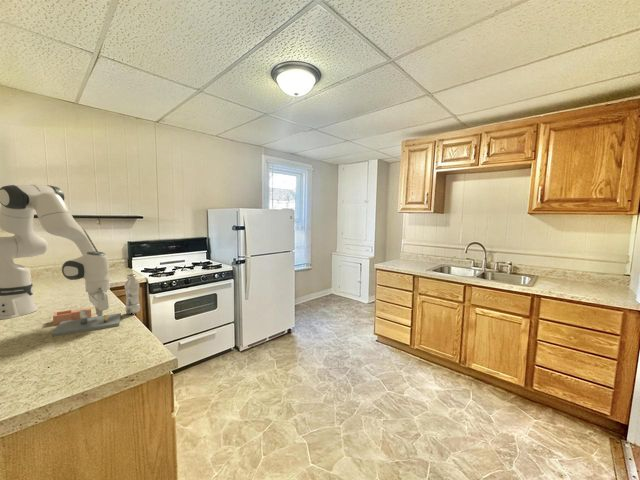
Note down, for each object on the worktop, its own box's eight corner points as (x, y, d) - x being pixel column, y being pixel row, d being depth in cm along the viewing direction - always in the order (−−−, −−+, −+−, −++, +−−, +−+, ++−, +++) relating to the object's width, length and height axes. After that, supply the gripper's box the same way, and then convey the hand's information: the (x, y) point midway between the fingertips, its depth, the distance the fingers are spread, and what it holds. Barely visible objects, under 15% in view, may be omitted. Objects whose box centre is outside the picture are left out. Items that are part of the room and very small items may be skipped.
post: (79, 324, 121) (78, 311, 121) (82, 322, 123) (81, 309, 123) (106, 323, 124) (105, 310, 123) (108, 321, 126) (108, 308, 125)
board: (52, 337, 112) (52, 333, 112) (61, 324, 124) (61, 321, 124) (119, 326, 124) (118, 323, 124) (120, 316, 136) (120, 313, 136)
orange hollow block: (53, 325, 124) (52, 316, 124) (54, 320, 129) (54, 312, 129) (91, 318, 132) (90, 310, 132) (91, 314, 137) (90, 306, 137)
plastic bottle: (124, 316, 136) (122, 276, 134) (126, 312, 142) (125, 274, 140) (139, 314, 139) (138, 275, 137) (141, 310, 145) (139, 273, 143)
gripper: (112, 289, 123) (113, 319, 124) (101, 281, 136) (102, 308, 137) (94, 291, 118) (95, 322, 119) (84, 283, 131) (86, 311, 132)
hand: (99, 315), depth 128 cm, fingers closed
